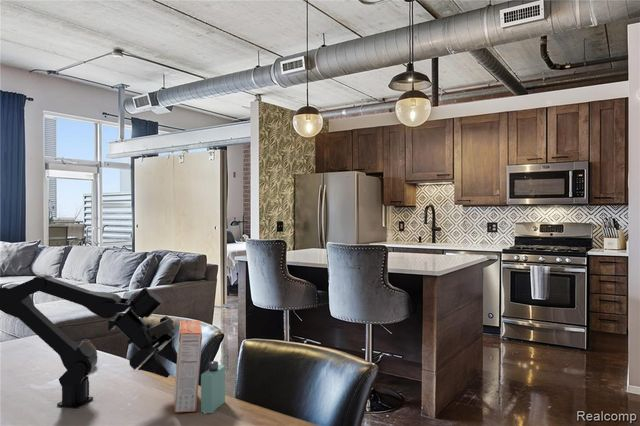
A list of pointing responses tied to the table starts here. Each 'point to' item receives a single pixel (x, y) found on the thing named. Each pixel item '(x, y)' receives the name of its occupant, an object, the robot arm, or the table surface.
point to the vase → (89, 344)
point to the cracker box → (187, 366)
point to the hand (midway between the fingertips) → (174, 370)
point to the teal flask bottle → (212, 387)
